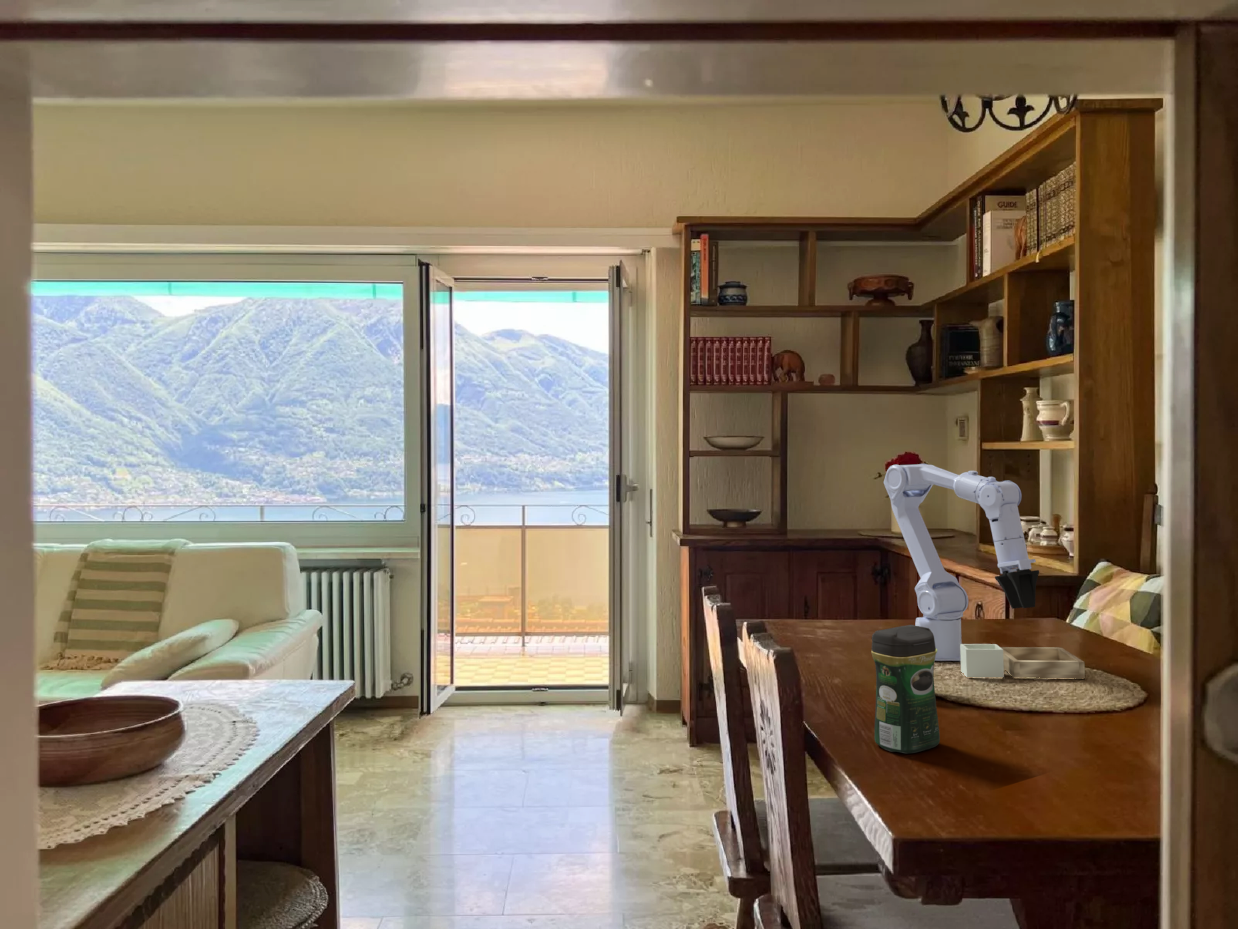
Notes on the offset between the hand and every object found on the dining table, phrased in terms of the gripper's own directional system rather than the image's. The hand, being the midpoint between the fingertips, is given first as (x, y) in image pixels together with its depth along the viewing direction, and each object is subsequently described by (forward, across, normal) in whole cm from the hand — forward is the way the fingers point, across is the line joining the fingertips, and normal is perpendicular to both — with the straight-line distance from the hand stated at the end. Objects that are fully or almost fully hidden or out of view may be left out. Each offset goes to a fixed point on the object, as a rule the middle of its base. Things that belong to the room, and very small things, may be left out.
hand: (1023, 607), depth 173 cm
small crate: (+12, +4, +9) cm, 16 cm away
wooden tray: (+13, +8, -3) cm, 16 cm away
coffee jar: (+18, -39, +32) cm, 54 cm away
